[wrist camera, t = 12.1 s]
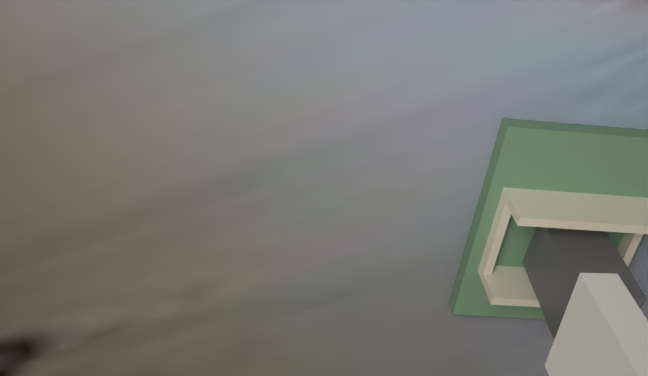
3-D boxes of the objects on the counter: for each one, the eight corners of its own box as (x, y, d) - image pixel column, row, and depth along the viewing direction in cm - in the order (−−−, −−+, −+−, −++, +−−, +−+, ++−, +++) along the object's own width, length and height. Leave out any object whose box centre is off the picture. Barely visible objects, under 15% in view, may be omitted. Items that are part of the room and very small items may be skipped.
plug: (541, 217, 40) (578, 294, 35) (600, 221, 41) (646, 298, 35) (521, 262, 43) (554, 341, 37) (577, 265, 43) (617, 344, 38)
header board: (502, 118, 38) (525, 154, 34) (679, 132, 39) (722, 169, 35) (449, 303, 47) (463, 349, 43) (596, 311, 48) (622, 357, 44)
